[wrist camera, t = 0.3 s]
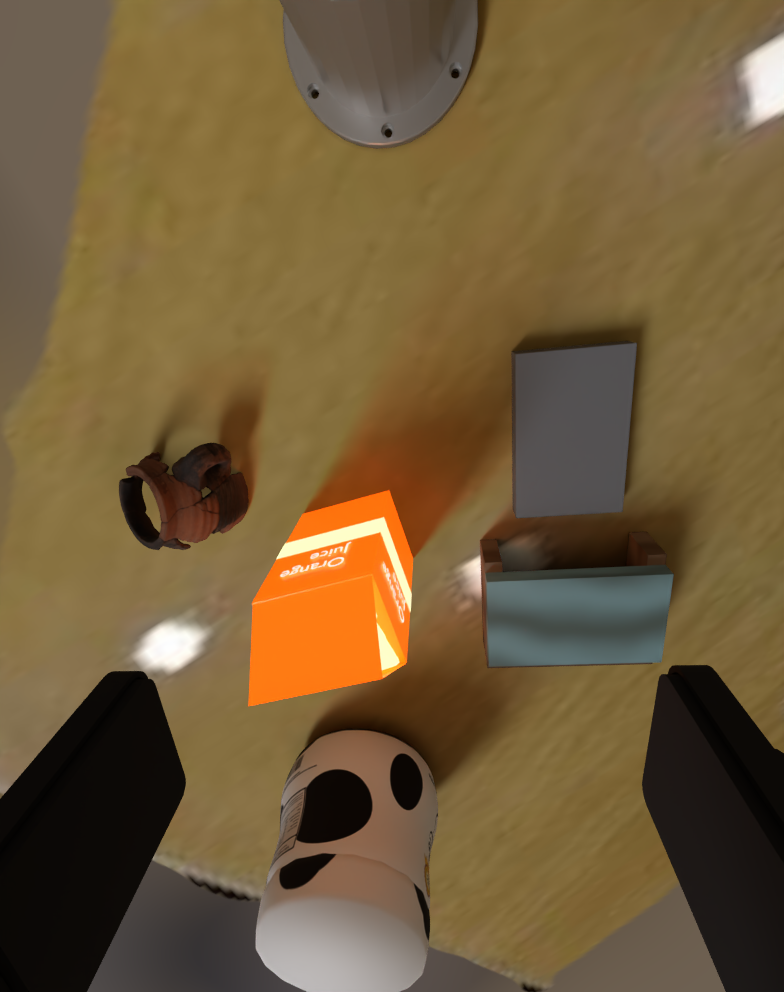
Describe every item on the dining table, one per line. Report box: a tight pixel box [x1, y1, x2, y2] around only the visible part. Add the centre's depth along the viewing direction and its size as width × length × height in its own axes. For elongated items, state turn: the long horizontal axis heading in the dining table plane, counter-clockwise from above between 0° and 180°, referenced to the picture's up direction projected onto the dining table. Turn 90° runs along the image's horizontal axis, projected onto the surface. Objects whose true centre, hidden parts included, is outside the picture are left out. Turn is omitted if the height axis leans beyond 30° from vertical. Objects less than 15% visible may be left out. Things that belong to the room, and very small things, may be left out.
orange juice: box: [249, 490, 413, 706], centre depth 38 cm, size 8×9×20 cm
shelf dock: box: [480, 532, 674, 668], centre depth 45 cm, size 12×15×6 cm
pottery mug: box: [119, 443, 248, 550], centre depth 44 cm, size 12×10×8 cm
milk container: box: [256, 729, 438, 992], centre depth 51 cm, size 17×17×18 cm
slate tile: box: [512, 341, 637, 518], centre depth 41 cm, size 14×9×2 cm, turn 6°
